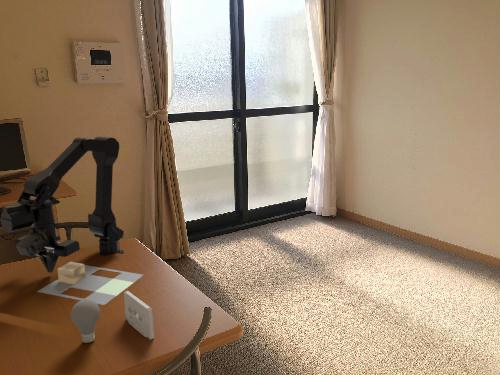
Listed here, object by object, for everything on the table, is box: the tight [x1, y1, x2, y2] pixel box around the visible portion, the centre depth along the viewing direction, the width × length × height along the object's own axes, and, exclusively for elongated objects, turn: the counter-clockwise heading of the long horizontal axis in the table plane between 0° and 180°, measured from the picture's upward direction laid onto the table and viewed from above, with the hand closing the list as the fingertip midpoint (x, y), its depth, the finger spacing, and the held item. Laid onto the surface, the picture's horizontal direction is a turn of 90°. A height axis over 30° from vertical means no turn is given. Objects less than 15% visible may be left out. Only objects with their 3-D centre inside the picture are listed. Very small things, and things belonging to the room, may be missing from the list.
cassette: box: [123, 290, 155, 340], centre depth 98 cm, size 12×2×8 cm, turn 43°
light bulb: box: [70, 298, 101, 344], centre depth 93 cm, size 6×6×10 cm
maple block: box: [57, 261, 86, 284], centre depth 120 cm, size 5×5×4 cm
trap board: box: [36, 264, 144, 306], centre depth 119 cm, size 18×22×2 cm
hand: (50, 272), depth 123 cm, fingers closed
